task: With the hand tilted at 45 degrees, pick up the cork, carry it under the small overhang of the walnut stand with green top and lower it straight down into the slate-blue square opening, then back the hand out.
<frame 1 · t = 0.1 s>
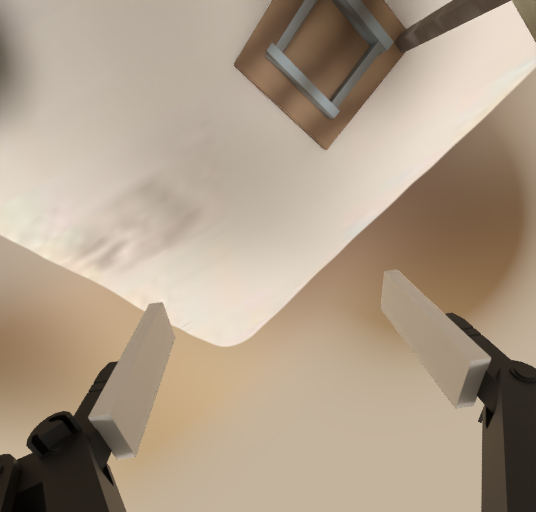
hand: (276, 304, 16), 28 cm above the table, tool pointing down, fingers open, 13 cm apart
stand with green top: (322, 54, 33), on the table
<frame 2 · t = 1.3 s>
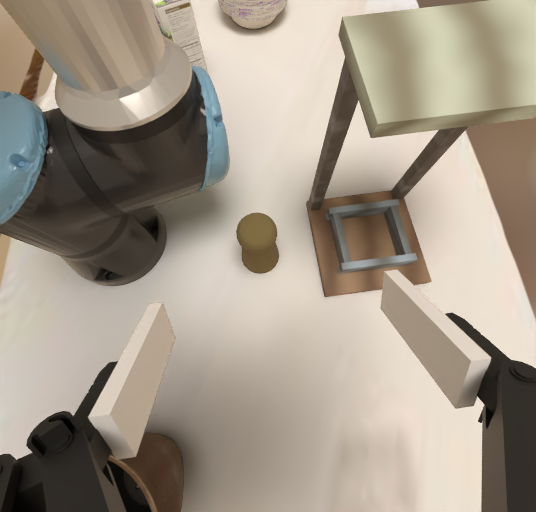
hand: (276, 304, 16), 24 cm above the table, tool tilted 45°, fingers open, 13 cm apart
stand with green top: (363, 241, 43), on the table
plant pot: (155, 468, 34), on the table
cork: (260, 255, 43), on the table
syrup box: (193, 80, 55), on the table
paper bowls: (254, 16, 61), on the table
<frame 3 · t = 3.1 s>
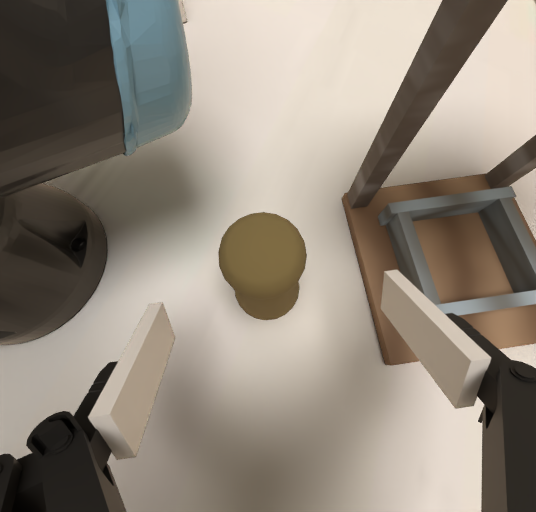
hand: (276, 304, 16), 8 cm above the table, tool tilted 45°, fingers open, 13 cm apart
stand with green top: (444, 261, 25), on the table
cork: (266, 287, 25), on the table
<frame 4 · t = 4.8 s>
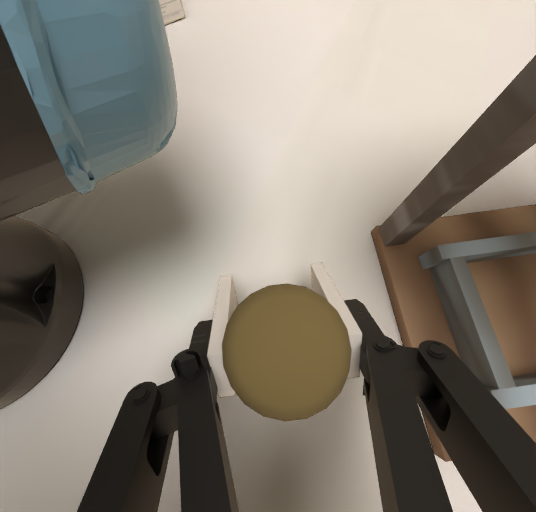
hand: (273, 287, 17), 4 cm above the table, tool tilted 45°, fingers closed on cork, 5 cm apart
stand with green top: (501, 313, 20), on the table
cork: (280, 345, 20), on the table, touching gripper
syrup box: (158, 14, 32), on the table
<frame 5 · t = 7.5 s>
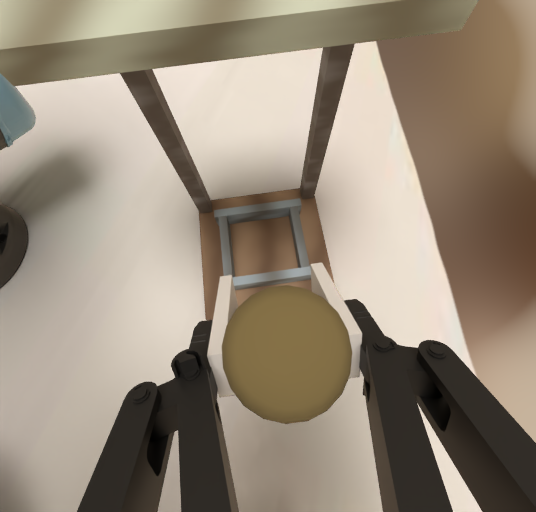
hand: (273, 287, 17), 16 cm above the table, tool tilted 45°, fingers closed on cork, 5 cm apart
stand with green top: (263, 250, 35), on the table
cork: (280, 346, 20), point 12 cm above the table, touching gripper
when the fingers open (6 cm above the table, at t = 10.2 s): cork drops 2 cm, resting on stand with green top.
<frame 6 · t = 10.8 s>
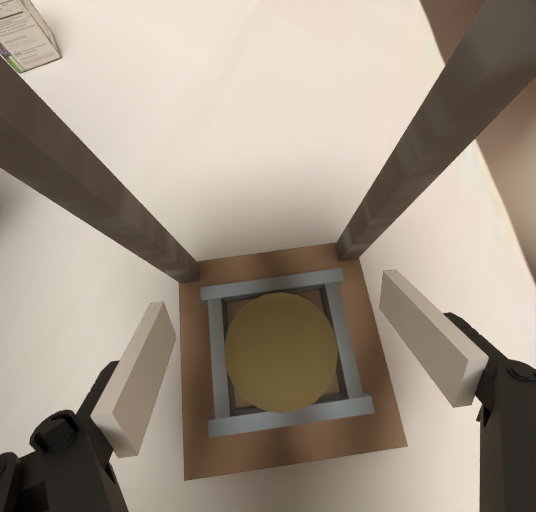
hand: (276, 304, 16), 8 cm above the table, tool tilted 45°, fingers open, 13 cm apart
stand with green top: (279, 345, 22), on the table
cork: (279, 346, 21), point 1 cm above the table, touching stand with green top
syrup box: (38, 54, 35), on the table
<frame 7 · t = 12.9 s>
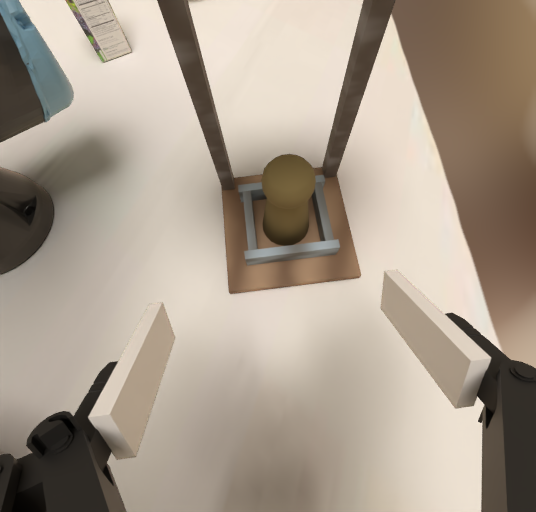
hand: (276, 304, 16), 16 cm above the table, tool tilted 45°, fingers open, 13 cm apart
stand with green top: (285, 227, 35), on the table
cork: (285, 225, 34), point 1 cm above the table, touching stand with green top
syrup box: (115, 49, 49), on the table
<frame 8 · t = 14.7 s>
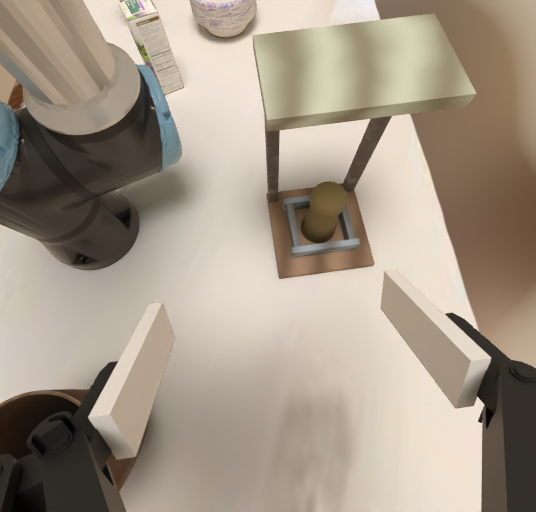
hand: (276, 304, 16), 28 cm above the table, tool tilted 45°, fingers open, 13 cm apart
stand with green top: (316, 229, 47), on the table
plant pot: (122, 428, 38), on the table
cork: (317, 227, 46), point 1 cm above the table, touching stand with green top
syrup box: (169, 84, 60), on the table
paper bowls: (227, 26, 66), on the table
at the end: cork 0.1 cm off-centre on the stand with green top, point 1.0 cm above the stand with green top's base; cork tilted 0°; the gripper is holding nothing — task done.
